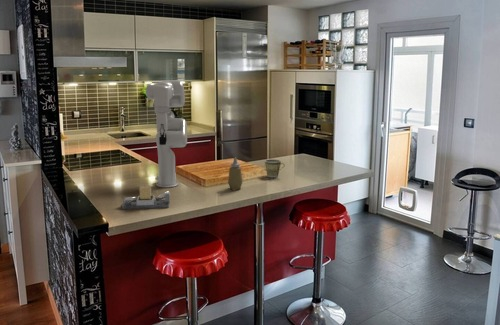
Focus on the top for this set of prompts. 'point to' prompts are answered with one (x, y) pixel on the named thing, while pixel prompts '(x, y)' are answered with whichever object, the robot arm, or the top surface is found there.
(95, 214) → the top surface
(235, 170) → the squeeze bottle
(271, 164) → the ceramic cup
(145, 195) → the beige rectangular block
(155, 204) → the shaft mount
